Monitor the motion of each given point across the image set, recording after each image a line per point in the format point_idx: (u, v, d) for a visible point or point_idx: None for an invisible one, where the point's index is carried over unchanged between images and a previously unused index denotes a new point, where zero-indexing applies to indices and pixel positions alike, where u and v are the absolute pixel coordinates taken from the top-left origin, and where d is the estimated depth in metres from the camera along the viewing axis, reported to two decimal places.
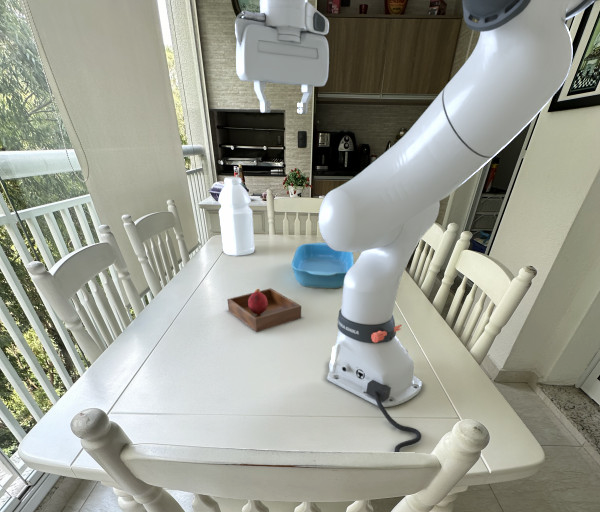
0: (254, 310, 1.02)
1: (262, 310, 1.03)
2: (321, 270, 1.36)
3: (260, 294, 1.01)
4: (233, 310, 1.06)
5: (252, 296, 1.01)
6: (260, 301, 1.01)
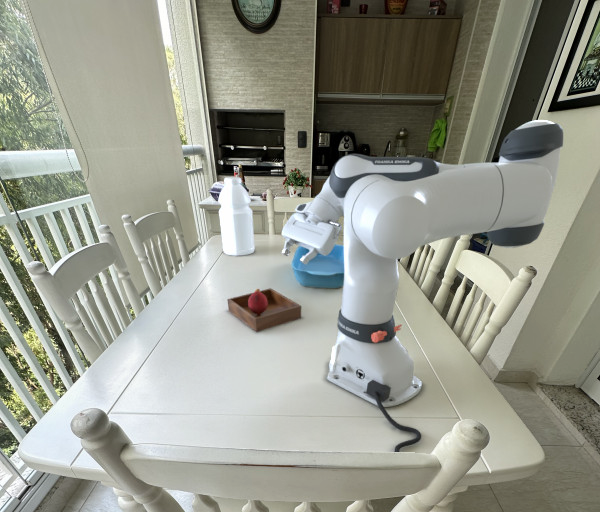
0: (254, 310, 1.02)
1: (262, 310, 1.03)
2: (321, 270, 1.36)
3: (260, 294, 1.01)
4: (233, 310, 1.06)
5: (252, 296, 1.01)
6: (260, 301, 1.01)
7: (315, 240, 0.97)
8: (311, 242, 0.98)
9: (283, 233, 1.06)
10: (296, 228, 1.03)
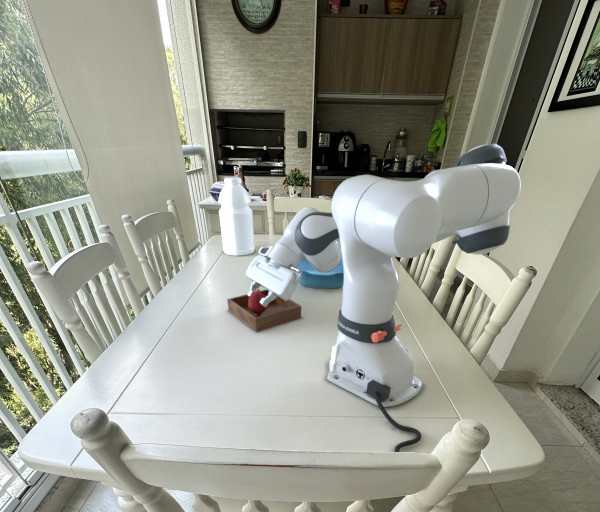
0: (254, 310, 1.02)
1: (262, 310, 1.03)
2: None
3: (260, 294, 1.01)
4: (233, 310, 1.06)
5: (252, 296, 1.01)
6: None
7: (275, 285, 0.97)
8: (272, 287, 0.98)
9: (247, 274, 1.06)
10: (259, 270, 1.03)
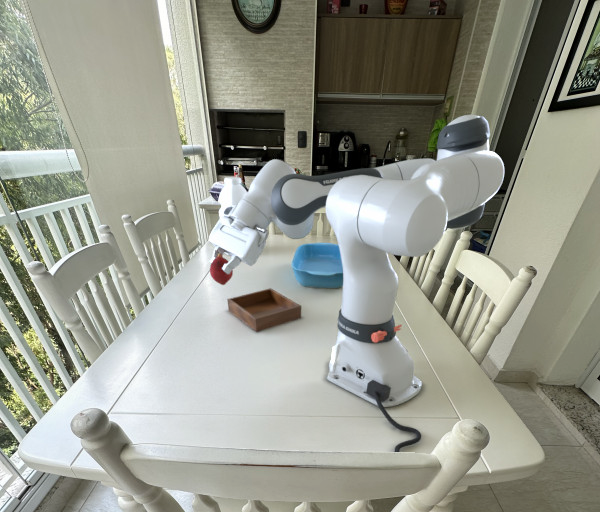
0: (216, 278, 0.90)
1: (226, 278, 0.91)
2: (321, 270, 1.36)
3: (223, 260, 0.89)
4: (233, 310, 1.06)
5: (214, 262, 0.89)
6: None
7: (238, 248, 0.85)
8: (234, 250, 0.86)
9: (210, 239, 0.94)
10: (223, 233, 0.91)
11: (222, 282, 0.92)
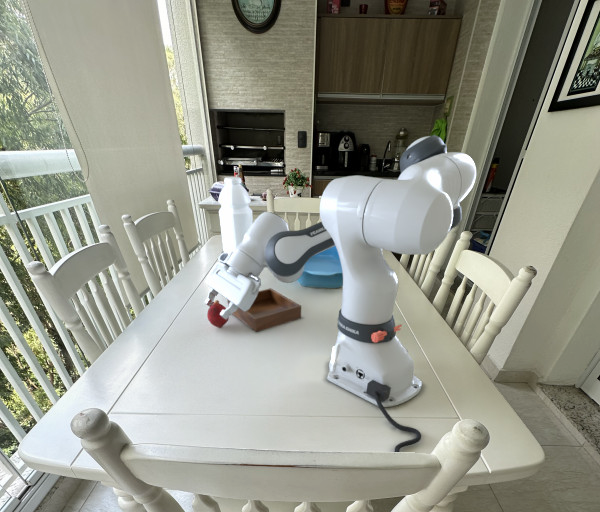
0: (213, 323, 0.96)
1: (222, 323, 0.97)
2: (321, 270, 1.36)
3: (219, 306, 0.95)
4: None
5: (211, 308, 0.95)
6: (219, 313, 0.95)
7: (233, 295, 0.91)
8: (230, 297, 0.91)
9: (207, 282, 1.00)
10: (219, 278, 0.97)
11: (219, 326, 0.98)
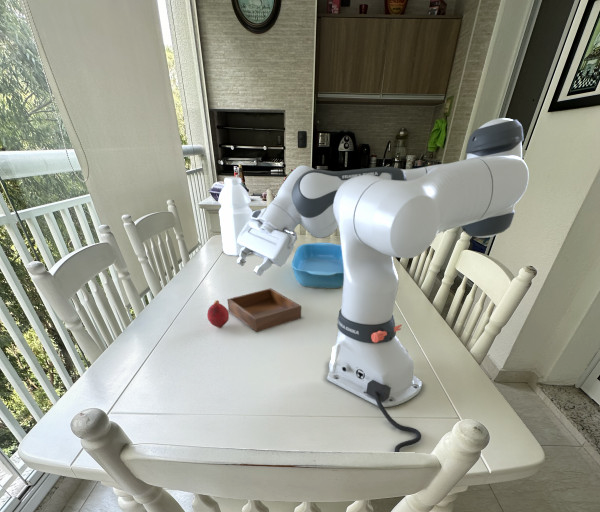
0: (213, 323, 0.96)
1: (222, 323, 0.97)
2: (321, 270, 1.36)
3: (219, 306, 0.95)
4: (233, 310, 1.06)
5: (211, 308, 0.95)
6: (219, 313, 0.95)
7: (268, 250, 0.90)
8: (265, 252, 0.91)
9: (238, 241, 0.99)
10: (251, 236, 0.96)
11: (219, 326, 0.98)
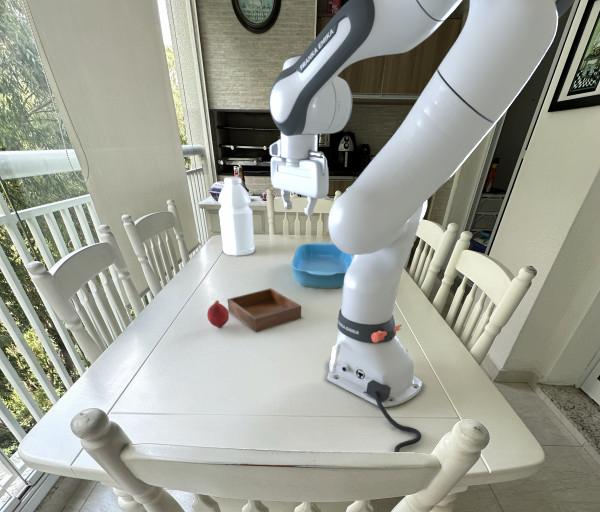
0: (213, 323, 0.96)
1: (222, 323, 0.97)
2: (321, 270, 1.36)
3: (219, 306, 0.95)
4: (233, 310, 1.06)
5: (211, 308, 0.95)
6: (219, 313, 0.95)
7: (306, 188, 0.86)
8: (304, 192, 0.87)
9: (275, 186, 0.95)
10: (283, 175, 0.91)
11: (219, 326, 0.98)
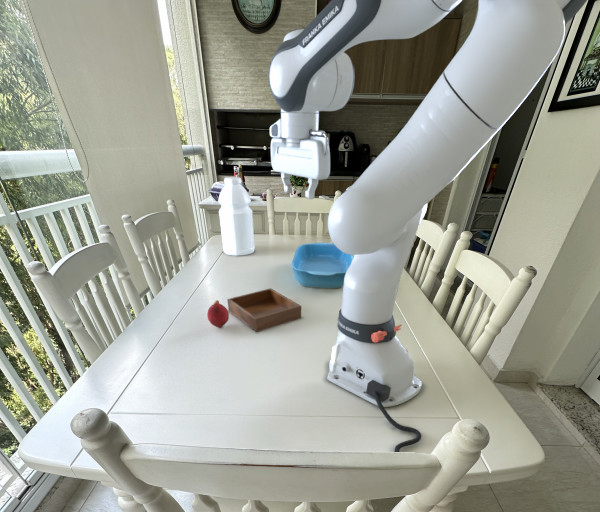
0: (213, 323, 0.96)
1: (222, 323, 0.97)
2: (321, 270, 1.36)
3: (219, 306, 0.95)
4: (233, 310, 1.06)
5: (211, 308, 0.95)
6: (219, 313, 0.95)
7: (307, 169, 0.83)
8: (305, 174, 0.84)
9: (275, 169, 0.93)
10: (283, 157, 0.89)
11: (219, 326, 0.98)
